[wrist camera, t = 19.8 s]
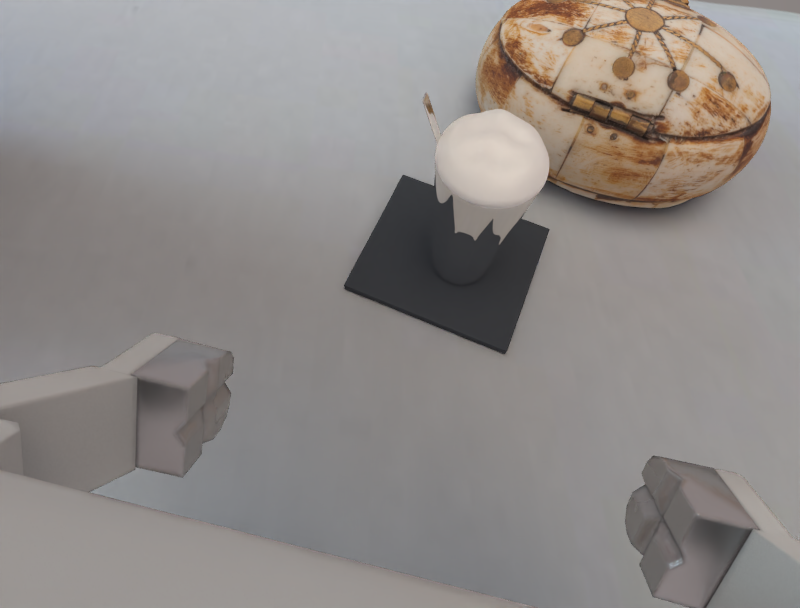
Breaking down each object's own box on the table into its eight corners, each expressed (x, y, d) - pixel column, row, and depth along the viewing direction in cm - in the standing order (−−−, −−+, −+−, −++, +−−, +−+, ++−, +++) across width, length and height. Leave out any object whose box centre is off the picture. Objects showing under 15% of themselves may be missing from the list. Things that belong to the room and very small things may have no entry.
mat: (344, 288, 26) (343, 285, 26) (402, 178, 30) (403, 174, 29) (504, 354, 25) (506, 351, 25) (547, 232, 29) (549, 228, 28)
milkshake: (420, 208, 28) (444, 55, 19) (511, 240, 28) (579, 98, 19) (391, 274, 26) (402, 139, 17) (487, 309, 26) (550, 188, 17)
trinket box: (739, 218, 30) (856, 118, 23) (494, 236, 28) (535, 135, 21) (665, 59, 35) (740, -62, 28) (456, 67, 34) (478, -58, 27)
